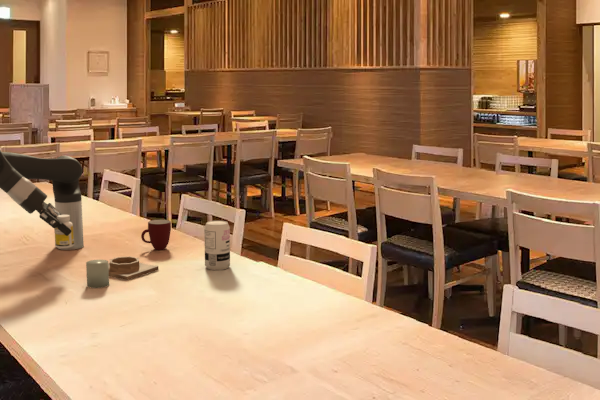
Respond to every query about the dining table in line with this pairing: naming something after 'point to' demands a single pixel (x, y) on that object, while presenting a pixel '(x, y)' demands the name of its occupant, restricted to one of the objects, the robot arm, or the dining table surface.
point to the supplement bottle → (60, 237)
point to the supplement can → (217, 245)
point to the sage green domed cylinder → (97, 273)
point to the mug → (158, 233)
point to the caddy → (129, 268)
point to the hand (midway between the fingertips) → (70, 231)
